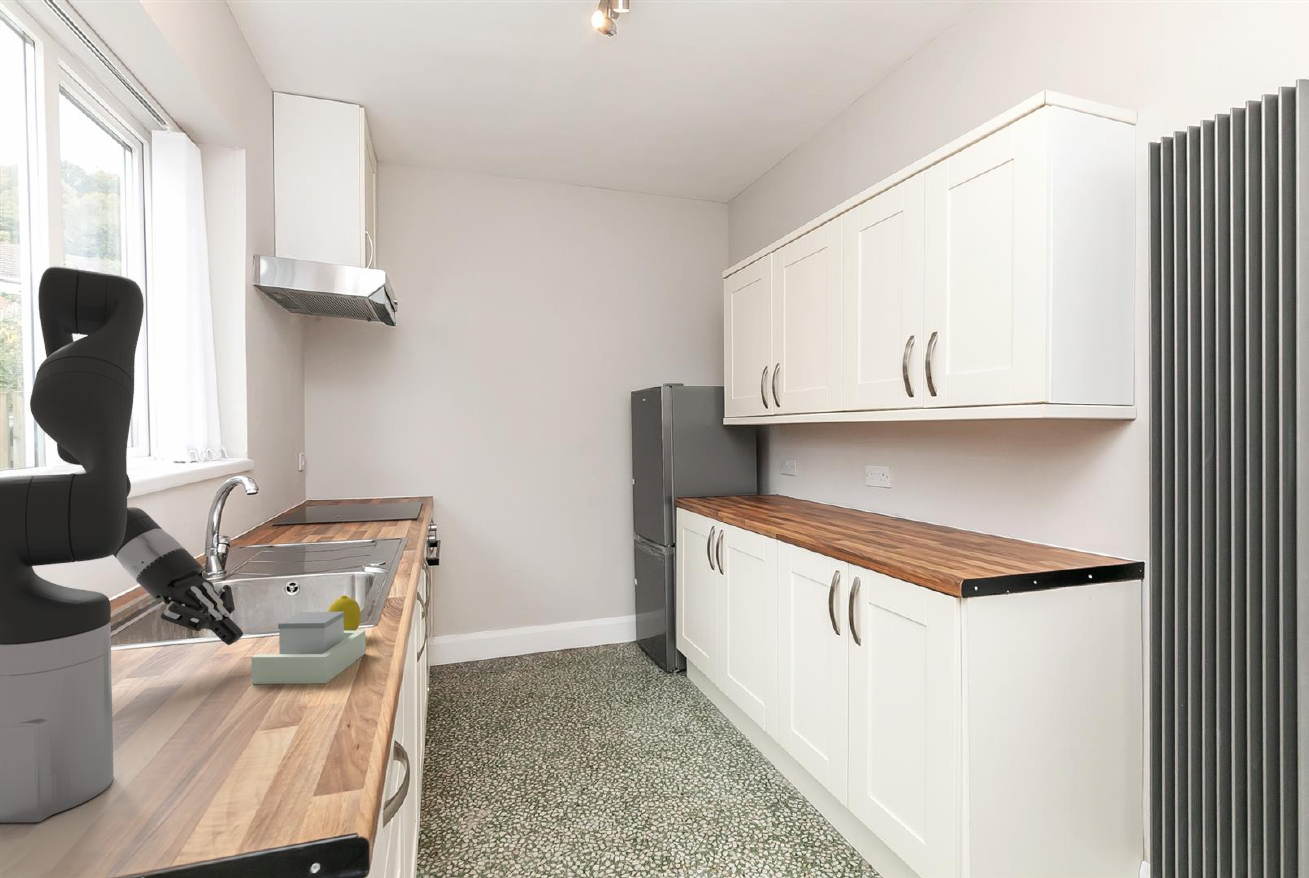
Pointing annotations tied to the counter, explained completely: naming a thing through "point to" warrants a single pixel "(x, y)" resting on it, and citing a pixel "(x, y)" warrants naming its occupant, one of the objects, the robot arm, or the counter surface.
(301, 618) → the lidded grey box
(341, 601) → the lemon
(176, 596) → the robot arm
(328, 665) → the bay
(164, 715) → the counter surface
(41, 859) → the counter surface
